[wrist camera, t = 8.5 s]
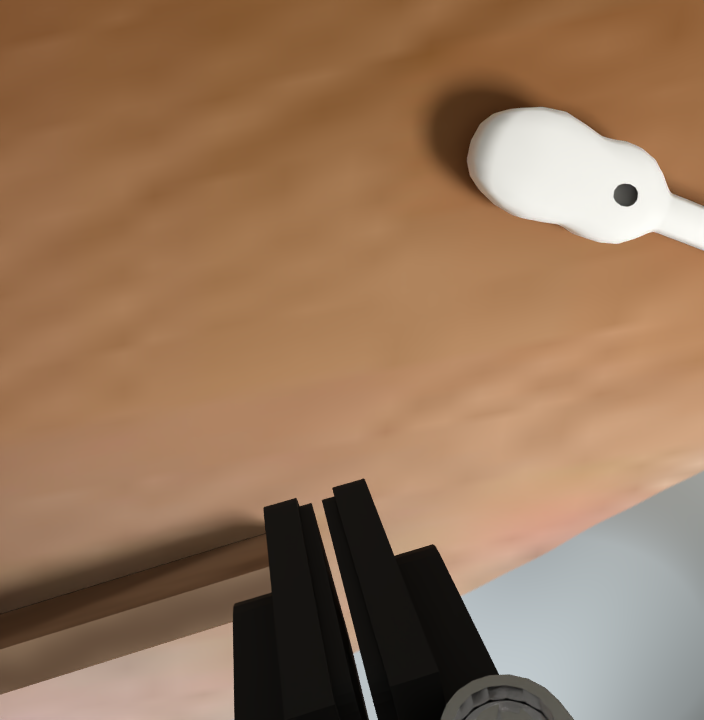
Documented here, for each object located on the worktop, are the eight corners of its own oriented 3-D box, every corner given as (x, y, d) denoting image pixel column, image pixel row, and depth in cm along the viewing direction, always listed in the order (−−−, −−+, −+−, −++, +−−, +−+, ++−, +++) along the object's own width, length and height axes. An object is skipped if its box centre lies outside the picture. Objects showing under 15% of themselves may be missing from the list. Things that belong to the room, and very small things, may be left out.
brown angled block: (-304, 373, 34) (-423, 425, 28) (190, 240, 36) (180, 262, 29) (-100, 687, 41) (-159, 782, 35) (297, 564, 43) (306, 635, 37)
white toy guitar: (861, 245, 43) (903, 252, 40) (817, 326, 44) (855, 339, 41) (483, 87, 35) (504, 84, 33) (445, 191, 37) (462, 195, 34)
